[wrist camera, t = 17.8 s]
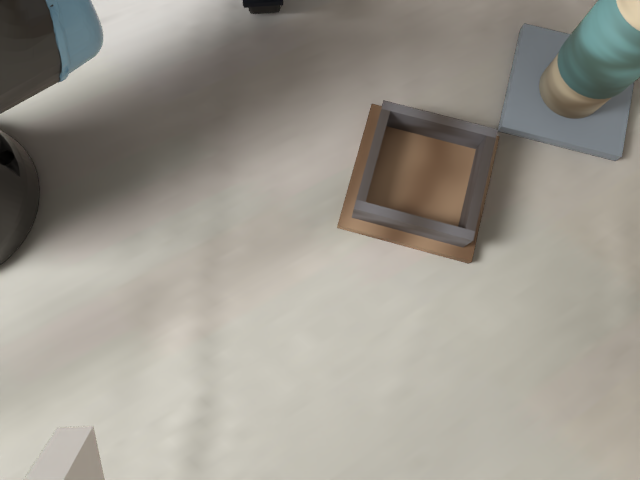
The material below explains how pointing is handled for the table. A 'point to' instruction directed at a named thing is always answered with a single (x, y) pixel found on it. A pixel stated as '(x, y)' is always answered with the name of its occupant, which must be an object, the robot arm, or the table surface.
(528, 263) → the table surface
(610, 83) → the disc
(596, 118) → the rubber mat
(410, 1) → the table surface
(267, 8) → the magazine
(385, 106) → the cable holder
